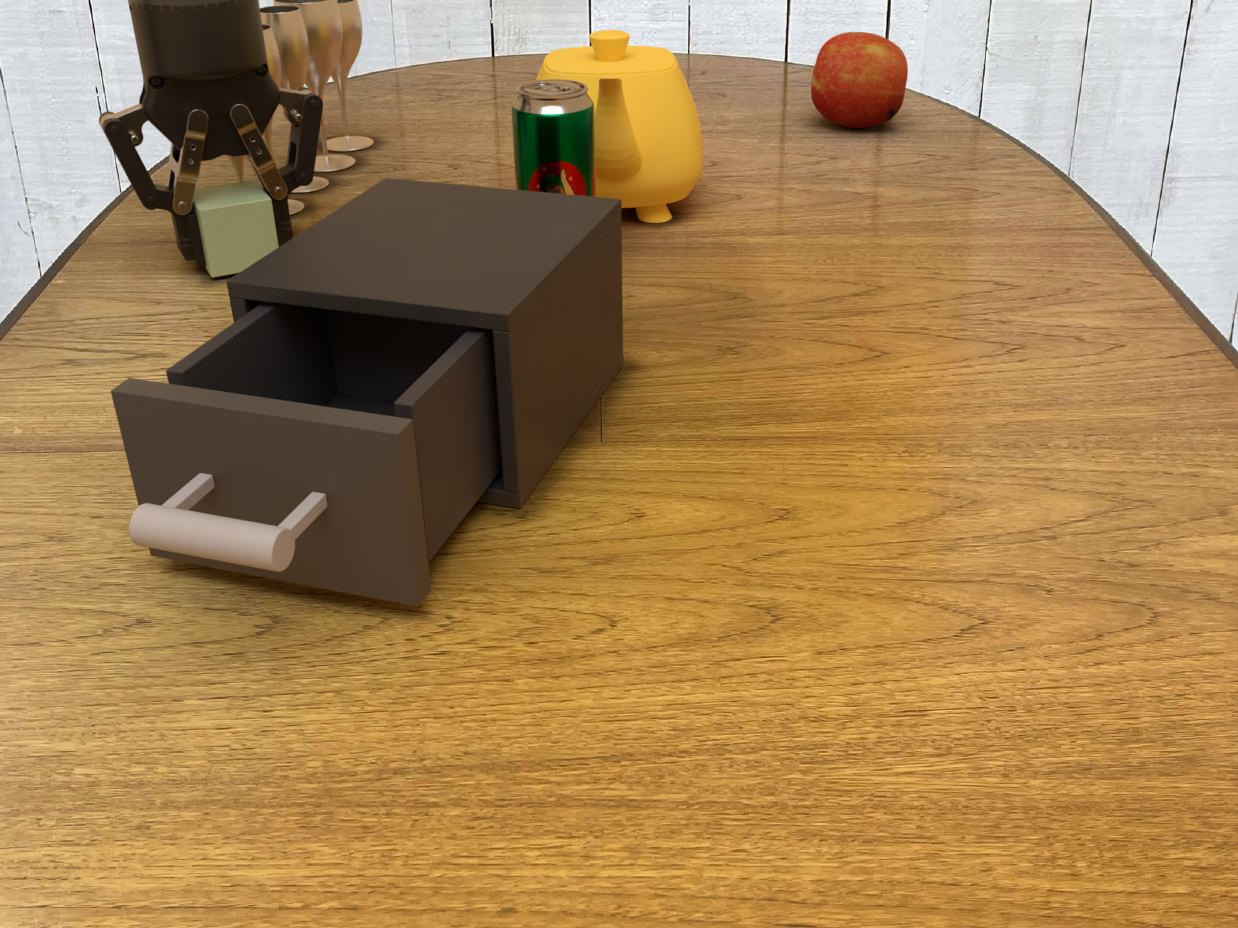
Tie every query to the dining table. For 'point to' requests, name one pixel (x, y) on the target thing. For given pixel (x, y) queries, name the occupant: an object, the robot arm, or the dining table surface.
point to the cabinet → (476, 294)
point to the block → (234, 226)
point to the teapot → (636, 120)
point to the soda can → (554, 138)
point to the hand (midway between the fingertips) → (237, 255)
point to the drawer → (315, 448)
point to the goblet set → (312, 70)
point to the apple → (859, 79)
